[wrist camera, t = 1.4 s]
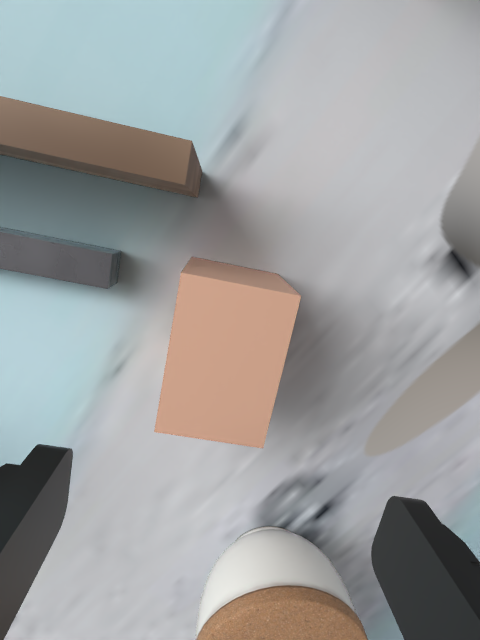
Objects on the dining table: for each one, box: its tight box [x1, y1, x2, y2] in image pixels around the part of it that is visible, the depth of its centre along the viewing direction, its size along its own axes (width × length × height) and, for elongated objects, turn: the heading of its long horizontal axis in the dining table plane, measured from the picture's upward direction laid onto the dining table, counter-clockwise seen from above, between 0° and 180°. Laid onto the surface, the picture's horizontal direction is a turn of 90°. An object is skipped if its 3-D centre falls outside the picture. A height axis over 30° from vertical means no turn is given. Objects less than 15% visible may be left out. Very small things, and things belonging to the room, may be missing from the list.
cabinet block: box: [154, 257, 301, 448], centre depth 21 cm, size 8×6×7 cm
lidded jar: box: [195, 526, 368, 640], centre depth 25 cm, size 11×11×9 cm
